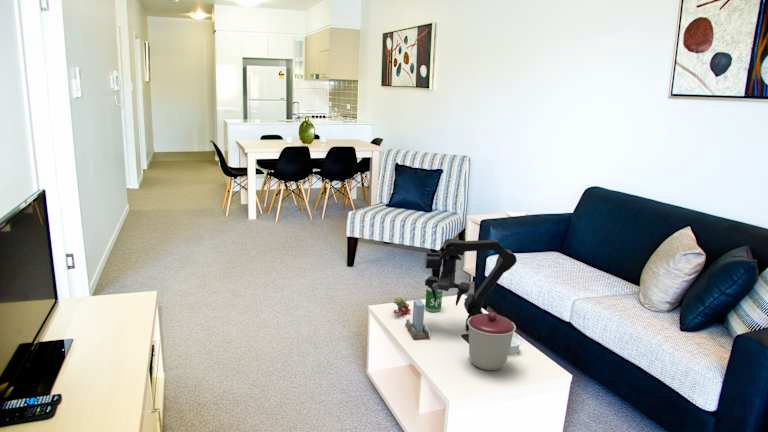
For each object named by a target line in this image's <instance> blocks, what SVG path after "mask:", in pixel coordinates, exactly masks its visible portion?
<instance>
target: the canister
mask: <svg viewBox="0 0 768 432" xmlns="http://www.w3.org/2000/svg"><path fill="white" fill-rule="evenodd" d="M467 324H468V326H469V331H468V333H469V344H468V353H469V358H470V362H471V363H472V364H473V365H474V366H475V367H476V368H478V369H481V370H485V371H498V370H500V369H502V368H503V367H504V366H505V365H506V363H507V359H508V357H509V355H508V353H509V349H510V345H511V341H512V338H513V336H514V333H515V331H516V330H517V327H516V325H515V323H514V322H513V321H511V319H509V318H507V317H505V316H503V315H498V314H497V313H496V312H494V311H490V312H487V313H483V314H478V315H475V316H472V317H470V318H469V319H468V320H467Z"/></svg>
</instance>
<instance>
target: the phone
mask: <svg viewBox="0 0 768 432" xmlns="http://www.w3.org/2000/svg"><path fill="white" fill-rule="evenodd" d="M460 337H461V338H462V339H463V340H464V341H465V342H466V343H467V344H468V345H469V332H467V333H462V334H461V335H460Z"/></svg>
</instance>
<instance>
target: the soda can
mask: <svg viewBox="0 0 768 432" xmlns="http://www.w3.org/2000/svg"><path fill="white" fill-rule="evenodd" d="M443 291H444V290H438V294H437V301H435V299H434V295H433V292H432V290H431V289H430V288H428V286H426V289H425V304H424V305H425V306H424V309H426V311H428V312H430V313H439V312H440V311H441V309H442V303H443Z"/></svg>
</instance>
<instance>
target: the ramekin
mask: <svg viewBox="0 0 768 432" xmlns="http://www.w3.org/2000/svg"><path fill="white" fill-rule="evenodd" d="M520 345H521V342H520V340H518V339H517V338H515V337H512V341H511V345H510V349H509V353H508V356H515V355H517V354H518V353H519V348H520Z"/></svg>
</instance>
